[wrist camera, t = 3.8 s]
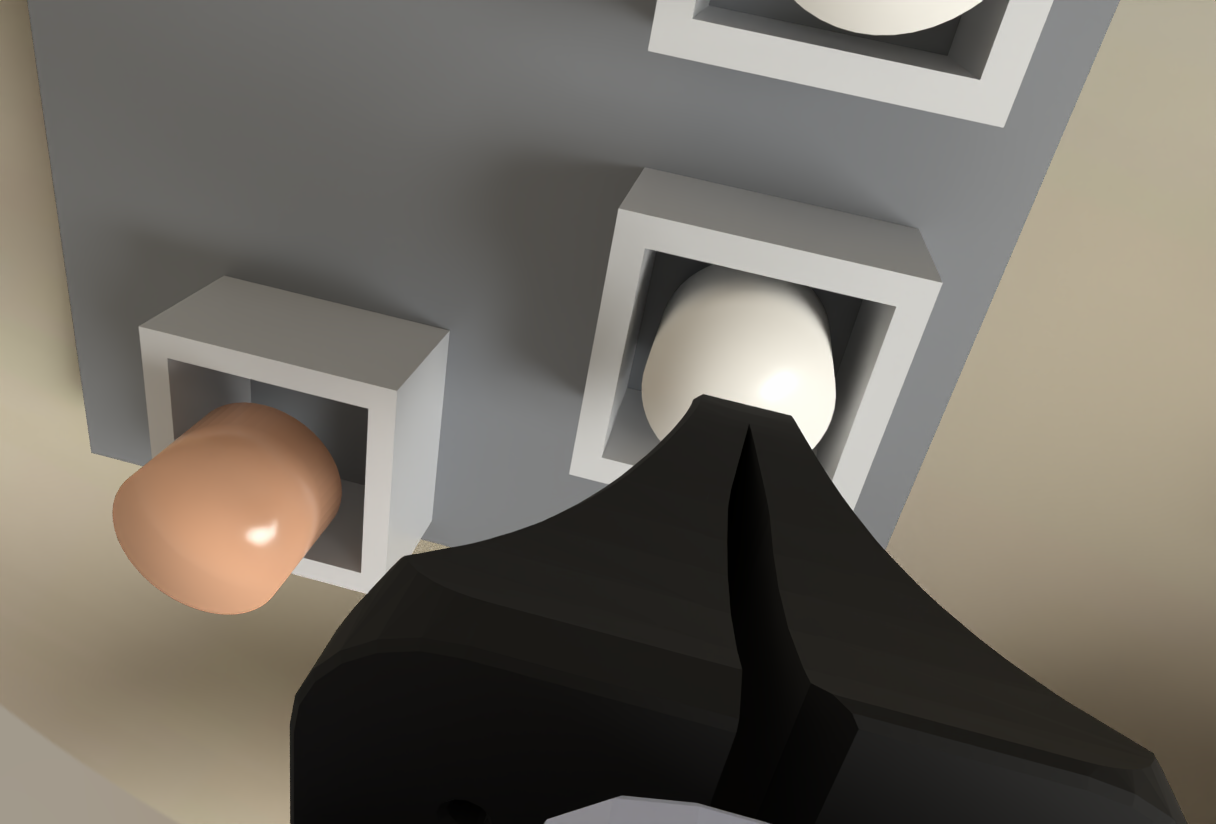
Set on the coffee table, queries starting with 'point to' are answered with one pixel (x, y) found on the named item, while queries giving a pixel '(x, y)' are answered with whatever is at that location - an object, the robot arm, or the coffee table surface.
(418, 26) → the gray socket board
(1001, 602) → the coffee table surface
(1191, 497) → the coffee table surface
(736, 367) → the white rounded dome
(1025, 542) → the coffee table surface
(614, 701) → the robot arm
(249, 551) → the peach rounded knob
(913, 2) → the white plug
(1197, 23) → the coffee table surface
